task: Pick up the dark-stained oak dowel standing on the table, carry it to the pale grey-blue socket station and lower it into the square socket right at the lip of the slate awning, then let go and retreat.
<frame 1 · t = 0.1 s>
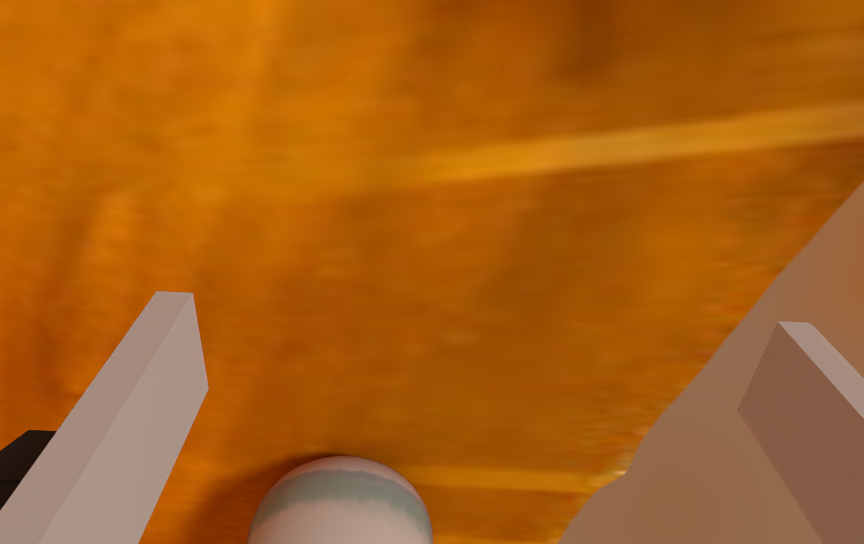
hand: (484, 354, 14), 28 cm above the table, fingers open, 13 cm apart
lamp: (348, 489, 58), on the table
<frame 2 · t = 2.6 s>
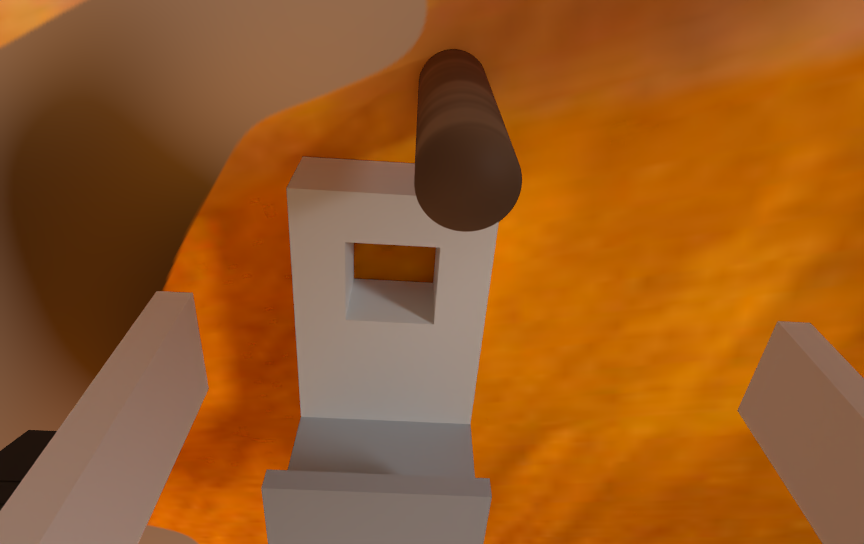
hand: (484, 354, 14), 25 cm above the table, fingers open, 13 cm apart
station: (393, 283, 42), on the table
dowel: (452, 84, 35), on the table
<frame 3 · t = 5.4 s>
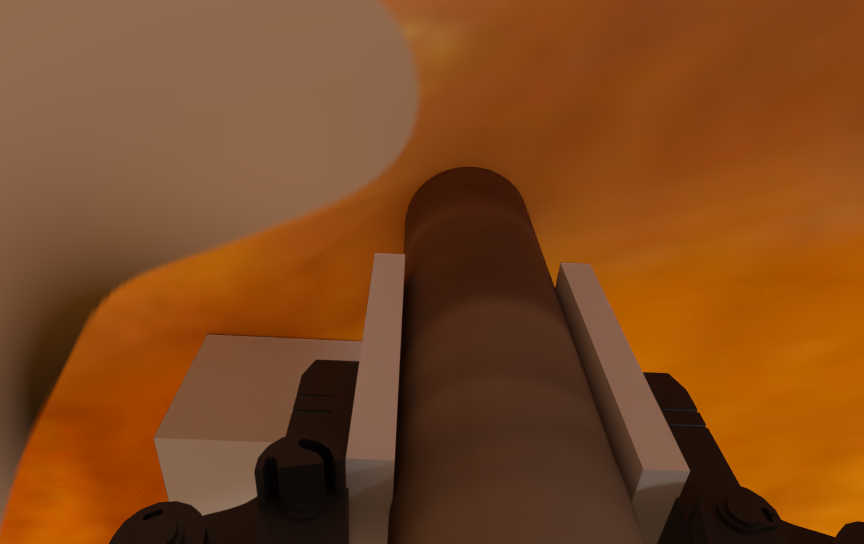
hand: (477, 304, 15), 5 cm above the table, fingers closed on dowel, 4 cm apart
station: (368, 502, 26), on the table
dowel: (466, 224, 19), on the table, touching gripper
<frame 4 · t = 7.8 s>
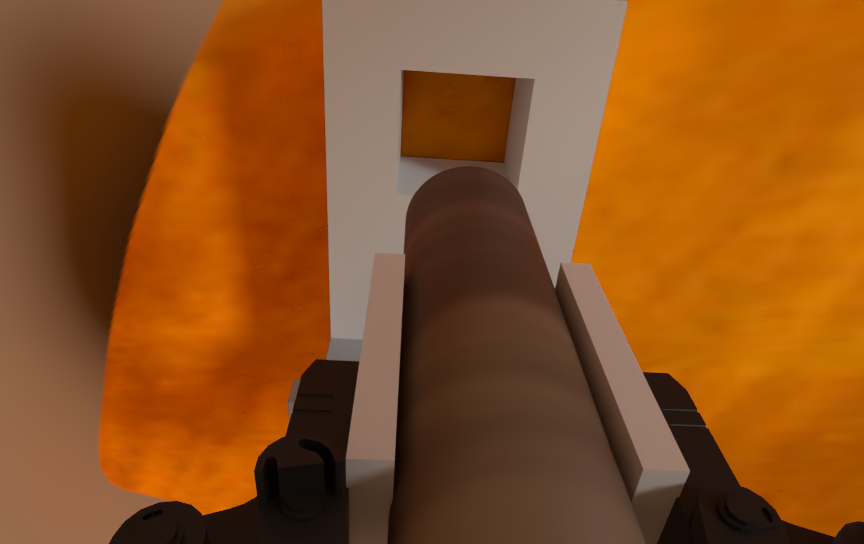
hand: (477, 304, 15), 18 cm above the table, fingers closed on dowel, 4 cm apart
station: (452, 162, 32), on the table
dowel: (466, 223, 19), point 13 cm above the table, touching gripper
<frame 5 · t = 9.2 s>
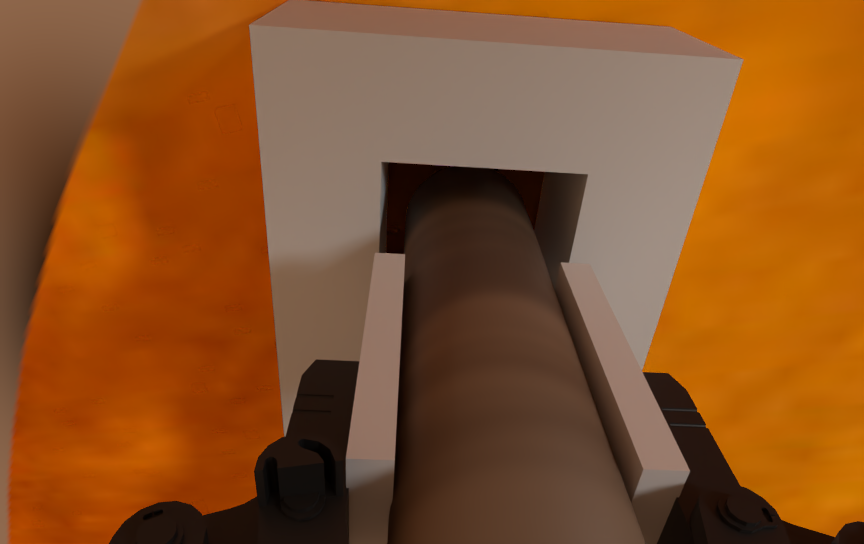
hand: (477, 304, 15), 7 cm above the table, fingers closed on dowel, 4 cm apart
station: (457, 261, 23), on the table
dowel: (465, 222, 20), point 2 cm above the table, touching gripper
when the fingers open (6 cm above the table, at t = 10.3 s): dowel drops 1 cm, resting in station.
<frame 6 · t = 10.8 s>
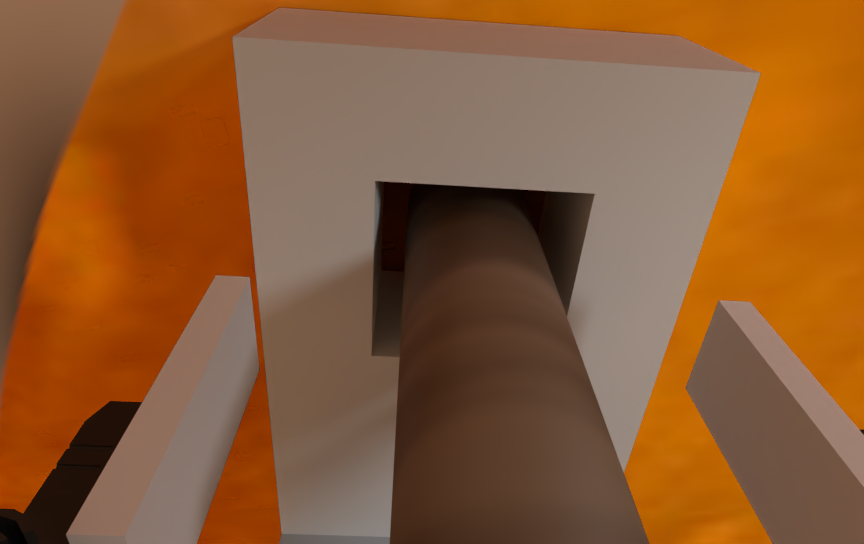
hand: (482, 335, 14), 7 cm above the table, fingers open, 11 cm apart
station: (455, 278, 22), on the table
dowel: (464, 205, 21), resting in station
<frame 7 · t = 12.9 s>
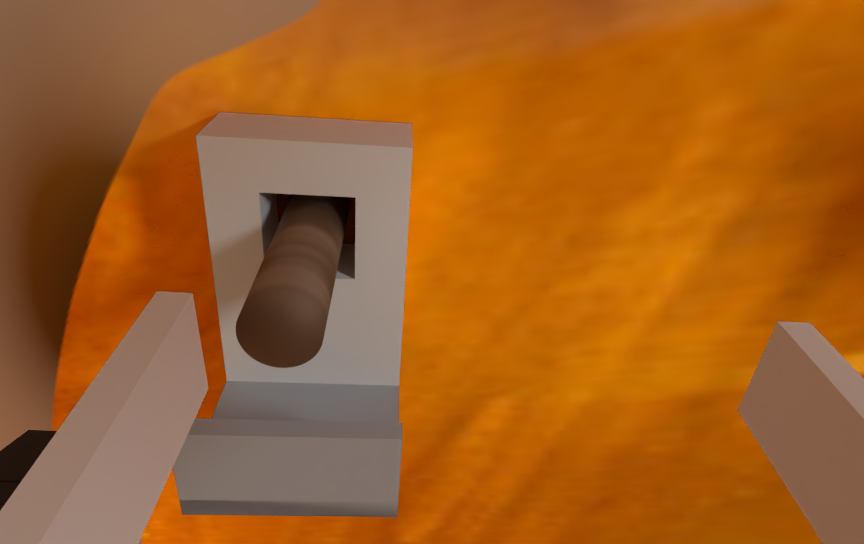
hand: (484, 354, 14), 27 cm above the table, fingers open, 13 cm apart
station: (319, 244, 42), on the table
dowel: (319, 205, 40), resting in station
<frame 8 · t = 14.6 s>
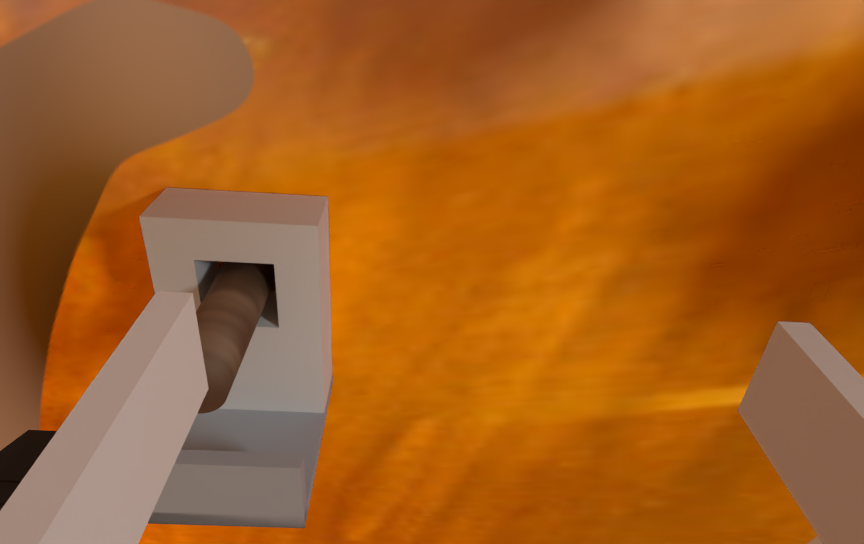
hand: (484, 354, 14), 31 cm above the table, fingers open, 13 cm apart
station: (257, 292, 49), on the table
dowel: (255, 261, 48), resting in station
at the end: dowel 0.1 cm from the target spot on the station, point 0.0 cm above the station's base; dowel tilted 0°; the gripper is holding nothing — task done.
